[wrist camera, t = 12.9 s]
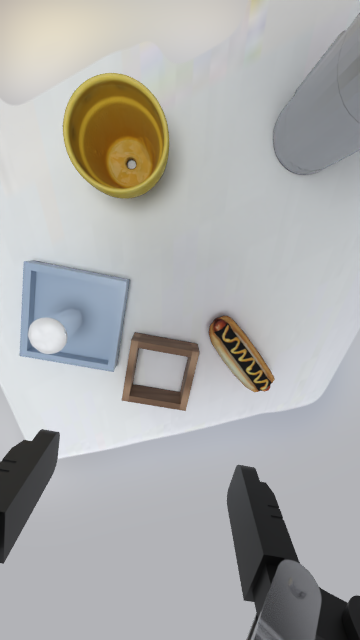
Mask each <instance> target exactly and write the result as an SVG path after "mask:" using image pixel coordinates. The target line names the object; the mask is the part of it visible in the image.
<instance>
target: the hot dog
mask: <svg viewBox="0 0 360 640" xmlns="http://www.w3.org/2000/svg"><path fill="white" fill-rule="evenodd" d="M209 335H210V339H211V342H212V344H213V346H214V347H215V349H216V351H217V352H218V354H219V355H220V357H221V358H222V360H223V361H224V362H225V364H226V365H227V366H228V368H229V369H230V370H231V372H232V373H233V374H234V375H235V376H236V377H237V378H238V379H239V380H240V381H241V382H242V384H243V385H244V386H245V387H247V388H248V389H250V390H252V391H253V392H259V391H268V390H269V389H270V384H271V383H273V381H274V376H273V374H272V373H271V371H270V369H269V368H268V366H267V365H266V363H265V362H264V360H263V359H262V357H261V356H260V354H259V352H258V351H257V350H256V348H255V347H254V345H253V344H252V343H251V341H250V340H249V339H248V337H247V336H246V335H245V334H244V332H243V331H242V330H241V329H240V327H239V326H238V325H237V324H236V323H235V322H234V321H233V320H232V319H231V318H230V317H228V316H223V317H220V318H217V319H215V320H214V321H213V323H212V324H211V325H210V329H209Z"/></svg>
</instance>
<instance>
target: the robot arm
mask: <svg viewBox="0 0 360 640" xmlns="http://www.w3.org/2000/svg"><path fill="white" fill-rule="evenodd" d="M273 142H274V149H275V152H276V155H277V157H278V159H279V161H280V162H281V163H282V165H283V166H284V167H285V168H287V169H288V170H290V171H291V172H294V173H297V174H303V175H306V174H312V173H315V172H318V171H320V170H322V169H324V168H326V167H328V166H330V165H332V164H334V163H336V162H338V161H340V160H342V159H343V158H345V157H347V156H349V155H351V154H353V153H355V152H357V151H359V150H360V13H359V15H358V16H357V17H356V18H355V20H354V21H353V22H352V24H351V25H350V26H349V27H348V29H347V30H346V31H343V32H342V33H341V34H340V35H339V36H338V37H337V38H336V40H335V41H334V42H333V44H332V45H331V46H330V47H329V49H328V50H327V51H326V53H325V54H324V55H323V56H322V58H321V59H320V60H319V62H318V63H317V64H316V65H315V67H314V68H313V69H312V71H311V72H310V73H309V74H308V76H307V77H306V78H305V80H304V81H303V82H302V83H301V85H300V86H299V87H298V89H297V90H296V93H295V95H294V96H293V98H292V99H291V100H290V101H289V103H288V104H287V105H286V106H285V108H284V109H283V111H282V112H281V113H280V115H279V117H278V119H277V122H276V125H275V129H274V136H273ZM59 438H60V433H59V432H54V431H49V430H43V429H42V430H40V431H39V432H38V434H37V435H36V436H35V438H34V439H33V440H32V441H27V440H23V441H22V442H20V443H19V444H17V445H16V446H14V447H13V448H12V449H11V450H10V451H9V452H8V453H7V455H6V456H5V457H4V458H3V460H2V461H1V462H0V563H4V562H5V560H6V558H7V556H8V555H9V553H10V551H11V549H12V547H13V546H14V544H15V542H16V540H17V538H18V536H19V535H20V533H21V531H22V529H23V527H24V525H25V524H26V522H27V520H28V518H29V516H30V514H31V513H32V511H33V509H34V507H35V506H36V504H37V502H38V500H39V498H40V497H41V495H42V493H43V491H44V489H45V487H46V485H47V484H48V482H49V480H50V478H51V476H52V474H53V472H54V470H55V467H56V463H57V457H58V448H59ZM227 506H228V512H229V518H230V524H231V529H232V535H233V541H234V547H235V552H236V558H237V564H238V569H239V575H240V581H241V586H242V592H243V598H244V600H245V601H252V602H255V607H256V612H257V613H256V615H255V618H254V621H253V623H252V626H251V629H250V631H249V634H248V637H247V639H246V640H360V596H353V597H352V598H351V599H350V600H349V602H348V603H347V602H345V601H343V600H341V599H339V598H337V597H335V596H334V595H332V594H330V593H328V592H326V591H324V590H323V589H321V588H320V587H318V584H317V583H316V581H315V579H314V577H313V576H312V575H311V574H310V572H309V571H308V570H307V569H305V567H304V566H302V565H301V564H300V562H299V561H298V557H297V555H296V552H295V549H294V547H293V544H292V541H291V538H290V536H289V533H288V531H287V528H286V525H285V523H284V520H283V517H282V514H281V511H280V509H279V506H278V503H277V501H276V498H275V495H274V493H273V492H272V491H271V489H270V488H269V486H268V485H267V484H266V483H264V482H260V480H259V478H258V474H257V472H256V469H255V468H254V467H248V466H243V465H237V467H236V469H235V472H234V475H233V478H232V480H231V483H230V486H229V489H228V494H227Z"/></svg>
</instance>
